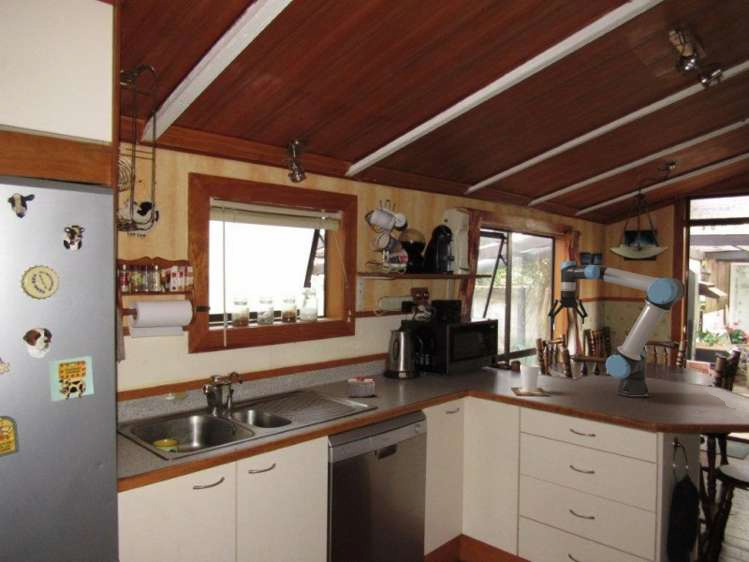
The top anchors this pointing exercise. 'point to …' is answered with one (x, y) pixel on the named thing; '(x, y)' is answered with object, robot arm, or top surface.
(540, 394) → the trivet
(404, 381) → the top surface
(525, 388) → the foam cup
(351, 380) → the food item
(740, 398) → the top surface
